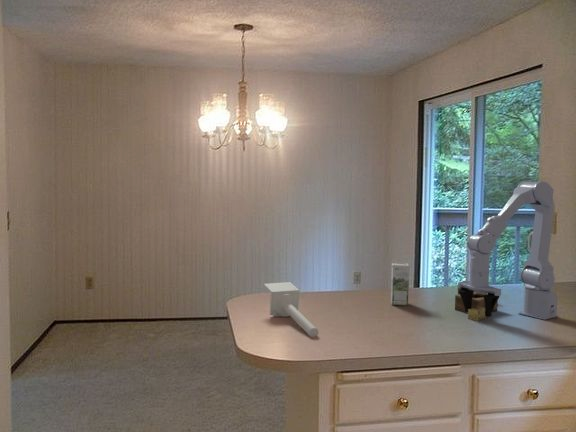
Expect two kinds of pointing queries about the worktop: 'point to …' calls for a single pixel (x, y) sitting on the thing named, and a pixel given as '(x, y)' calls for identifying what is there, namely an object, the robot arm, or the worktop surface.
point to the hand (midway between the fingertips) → (477, 314)
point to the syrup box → (399, 284)
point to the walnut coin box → (476, 301)
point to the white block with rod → (288, 305)
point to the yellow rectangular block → (476, 313)
